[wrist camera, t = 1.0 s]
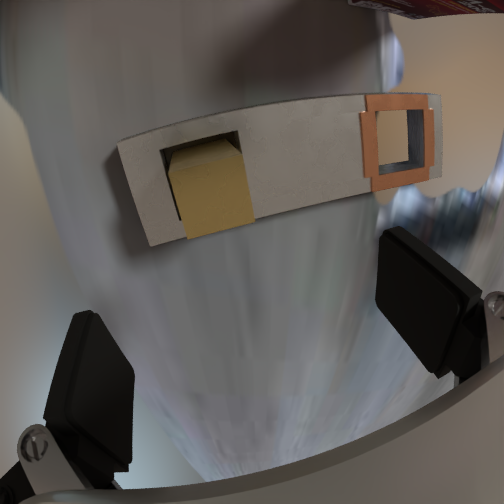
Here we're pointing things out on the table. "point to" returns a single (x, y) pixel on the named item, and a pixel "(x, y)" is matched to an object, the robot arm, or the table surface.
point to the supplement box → (432, 7)
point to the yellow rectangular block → (210, 188)
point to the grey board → (290, 153)
